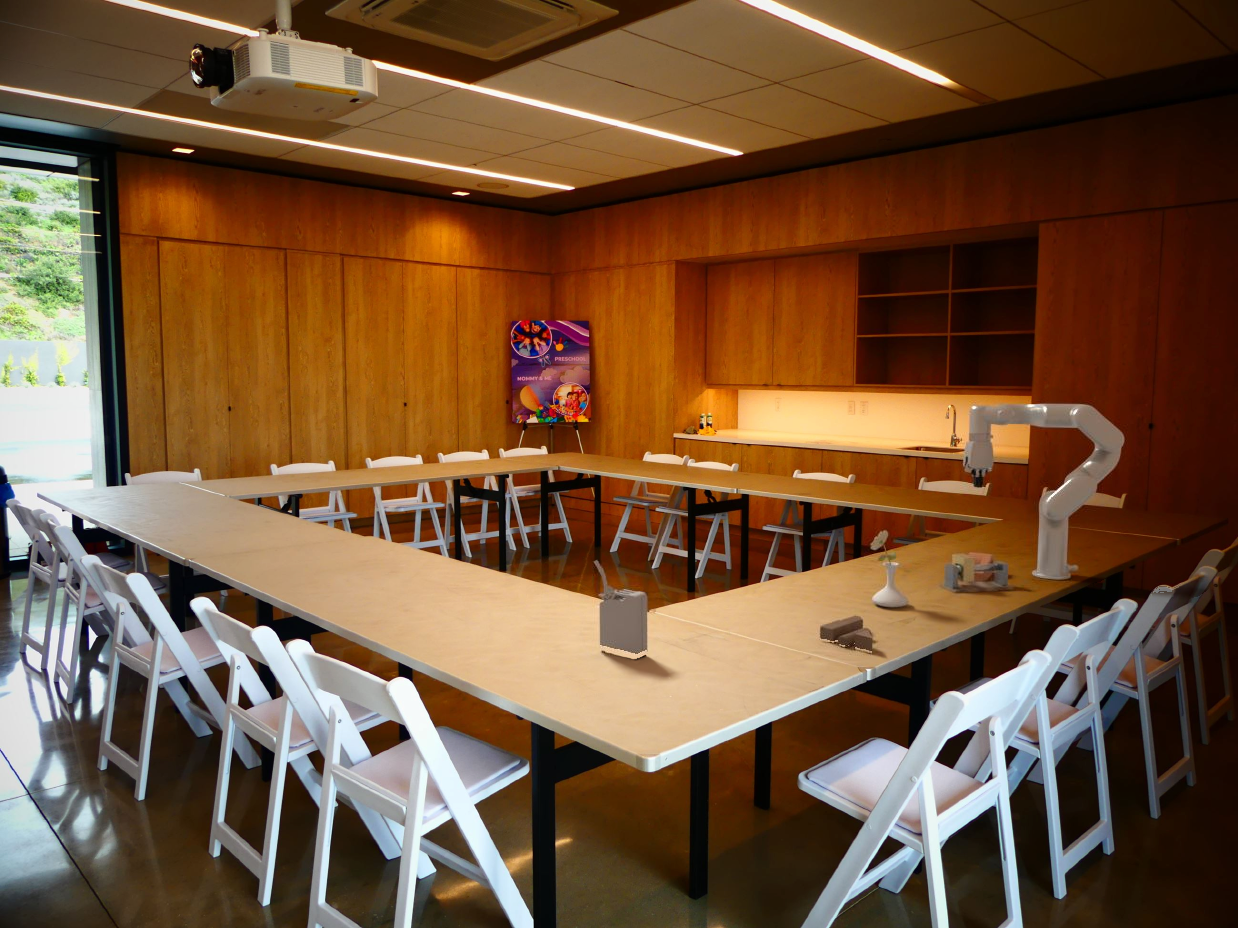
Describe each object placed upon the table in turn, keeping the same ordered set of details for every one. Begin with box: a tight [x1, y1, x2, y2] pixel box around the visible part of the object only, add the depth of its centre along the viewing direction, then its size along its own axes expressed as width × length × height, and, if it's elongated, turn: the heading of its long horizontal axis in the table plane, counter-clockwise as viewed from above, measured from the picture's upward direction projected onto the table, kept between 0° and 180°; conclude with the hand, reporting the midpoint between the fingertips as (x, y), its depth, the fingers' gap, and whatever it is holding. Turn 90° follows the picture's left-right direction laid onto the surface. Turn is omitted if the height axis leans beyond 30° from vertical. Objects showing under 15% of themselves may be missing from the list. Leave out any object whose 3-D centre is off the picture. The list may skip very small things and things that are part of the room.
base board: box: [938, 580, 1014, 594], centre depth 305 cm, size 22×10×1 cm, turn 101°
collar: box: [951, 553, 975, 583], centre depth 303 cm, size 4×7×8 cm, turn 11°
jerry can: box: [593, 559, 648, 654], centre depth 236 cm, size 15×5×25 cm, turn 51°
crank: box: [967, 551, 995, 582], centre depth 321 cm, size 20×8×8 cm, turn 147°
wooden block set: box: [819, 615, 874, 652], centre depth 246 cm, size 17×6×18 cm
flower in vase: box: [870, 529, 910, 608], centre depth 281 cm, size 13×11×25 cm
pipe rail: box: [944, 560, 1009, 589], centre depth 304 cm, size 21×5×8 cm, turn 101°
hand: (977, 487), depth 327 cm, fingers closed
